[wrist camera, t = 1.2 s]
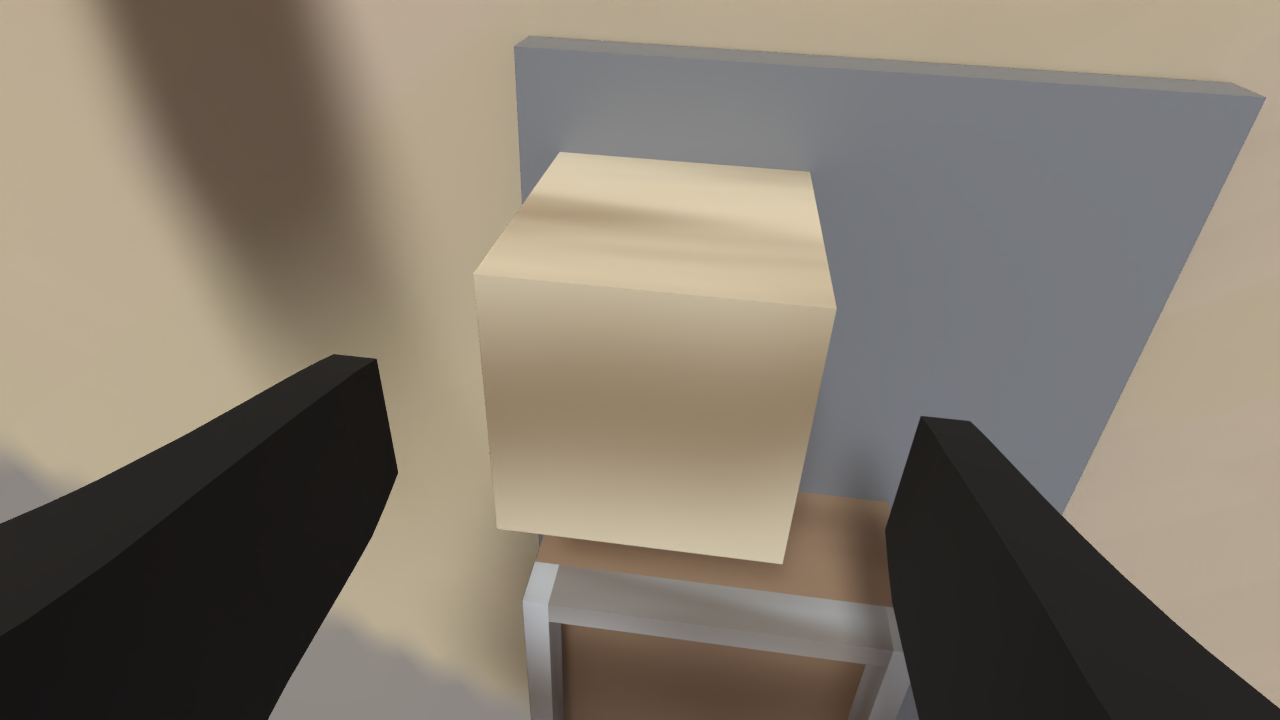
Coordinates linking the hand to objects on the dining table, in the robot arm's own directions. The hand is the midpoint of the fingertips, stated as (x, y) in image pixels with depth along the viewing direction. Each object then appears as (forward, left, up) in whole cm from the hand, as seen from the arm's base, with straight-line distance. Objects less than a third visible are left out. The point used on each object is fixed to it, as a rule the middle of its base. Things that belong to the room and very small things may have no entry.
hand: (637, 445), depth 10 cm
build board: (-5, -3, -6) cm, 9 cm away
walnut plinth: (-9, -2, -6) cm, 11 cm away
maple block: (0, 0, -5) cm, 5 cm away
